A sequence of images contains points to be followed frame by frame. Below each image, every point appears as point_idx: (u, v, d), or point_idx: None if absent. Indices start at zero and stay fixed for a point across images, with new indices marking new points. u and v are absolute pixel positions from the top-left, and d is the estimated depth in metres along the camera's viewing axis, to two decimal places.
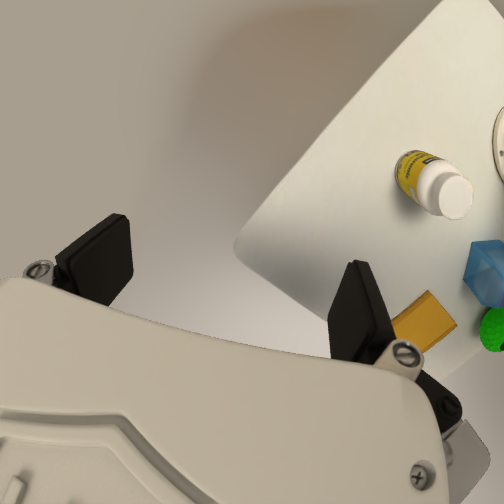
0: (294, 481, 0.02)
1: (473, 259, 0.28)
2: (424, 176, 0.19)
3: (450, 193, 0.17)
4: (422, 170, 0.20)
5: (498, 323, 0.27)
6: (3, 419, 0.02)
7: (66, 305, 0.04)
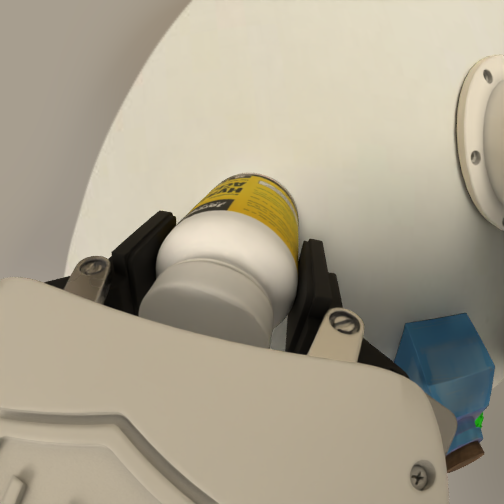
0: (294, 481, 0.02)
1: (403, 352, 0.18)
2: (156, 262, 0.09)
3: None
4: None
5: None
6: (3, 419, 0.02)
7: (66, 305, 0.04)
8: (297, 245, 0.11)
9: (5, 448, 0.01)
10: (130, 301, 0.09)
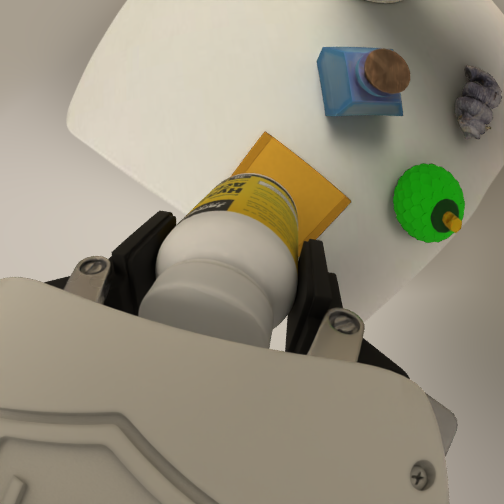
0: (294, 481, 0.02)
1: (321, 78, 0.22)
2: (156, 262, 0.09)
3: None
4: None
5: (414, 180, 0.21)
6: (3, 419, 0.02)
7: (66, 305, 0.04)
8: (297, 245, 0.11)
9: (5, 448, 0.01)
10: (130, 301, 0.09)
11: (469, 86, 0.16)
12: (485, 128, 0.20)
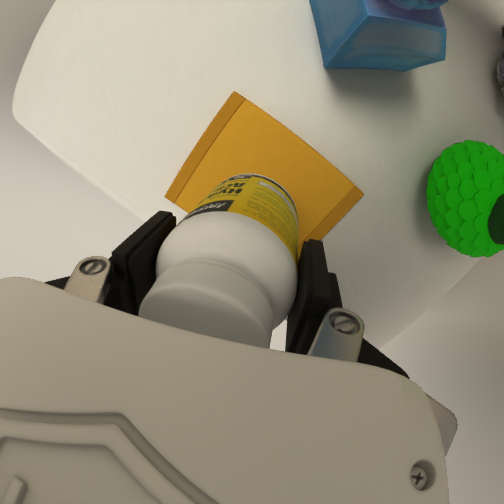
0: (294, 481, 0.02)
1: (315, 15, 0.12)
2: (156, 263, 0.09)
3: None
4: None
5: (462, 162, 0.12)
6: (3, 419, 0.02)
7: (66, 305, 0.04)
8: (297, 246, 0.11)
9: (5, 448, 0.01)
10: (130, 301, 0.09)
11: None
12: None
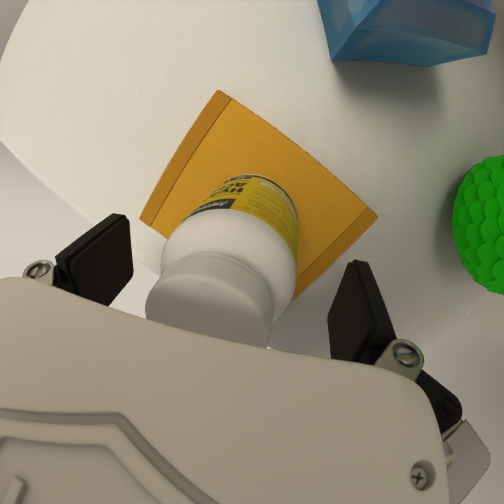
0: (294, 481, 0.02)
1: None
2: (161, 258, 0.10)
3: (177, 321, 0.08)
4: None
5: (500, 184, 0.08)
6: (3, 419, 0.02)
7: (66, 305, 0.04)
8: (296, 243, 0.12)
9: (5, 448, 0.01)
10: None
11: None
12: None
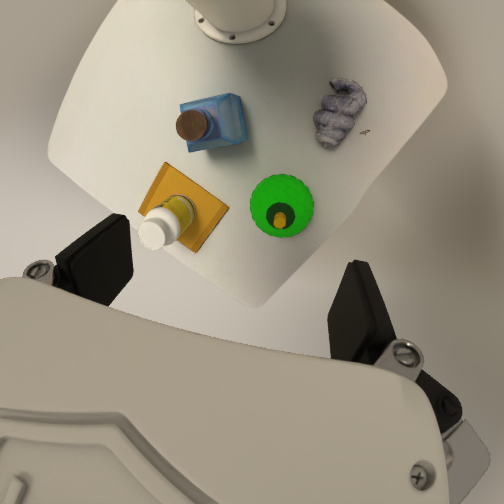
0: (294, 481, 0.02)
1: None
2: None
3: (145, 234, 0.32)
4: None
5: (259, 189, 0.33)
6: (3, 419, 0.02)
7: (66, 305, 0.04)
8: (184, 217, 0.36)
9: (5, 448, 0.01)
10: None
11: (322, 99, 0.28)
12: (362, 133, 0.32)
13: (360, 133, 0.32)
